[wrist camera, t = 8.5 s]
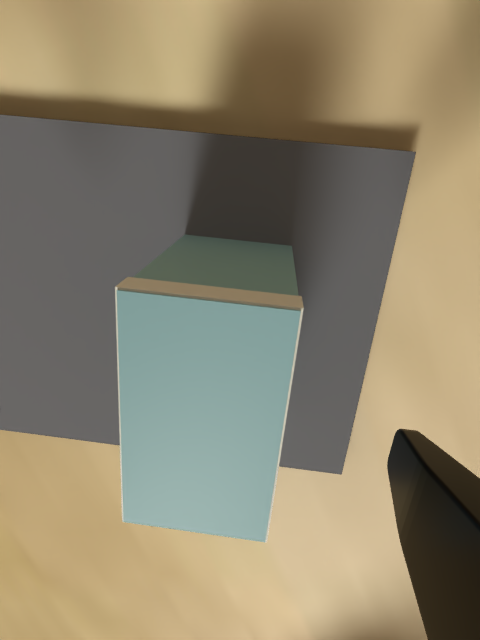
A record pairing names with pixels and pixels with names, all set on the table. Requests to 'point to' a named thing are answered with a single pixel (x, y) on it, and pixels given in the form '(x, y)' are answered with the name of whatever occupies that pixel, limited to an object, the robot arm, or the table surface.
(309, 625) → the table surface
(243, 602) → the table surface
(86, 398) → the mat
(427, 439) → the robot arm
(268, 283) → the pale teal block
